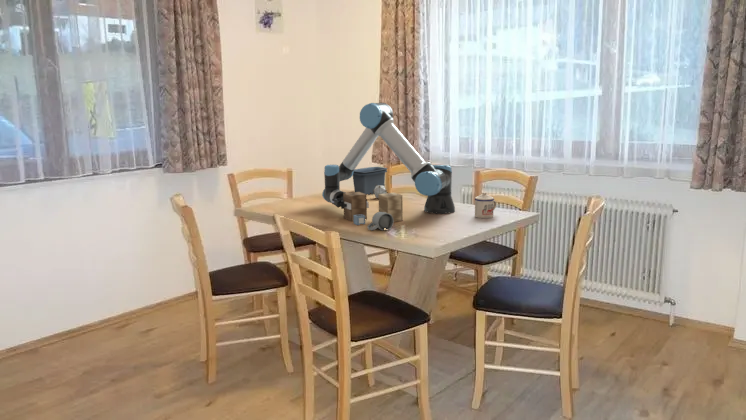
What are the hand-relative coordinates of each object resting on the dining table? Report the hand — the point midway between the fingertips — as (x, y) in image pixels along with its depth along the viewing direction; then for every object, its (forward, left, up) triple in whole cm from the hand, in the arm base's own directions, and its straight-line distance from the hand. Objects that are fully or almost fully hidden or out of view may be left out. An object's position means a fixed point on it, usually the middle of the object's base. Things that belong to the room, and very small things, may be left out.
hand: (359, 205), depth 282 cm
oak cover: (-12, -8, -7) cm, 16 cm away
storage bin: (+40, -66, -7) cm, 78 cm away
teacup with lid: (-47, -38, -7) cm, 61 cm away
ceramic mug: (-18, +10, -7) cm, 22 cm away
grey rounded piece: (+23, -53, -7) cm, 59 cm away
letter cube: (-4, +6, -7) cm, 10 cm away
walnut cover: (+4, -2, -7) cm, 8 cm away
